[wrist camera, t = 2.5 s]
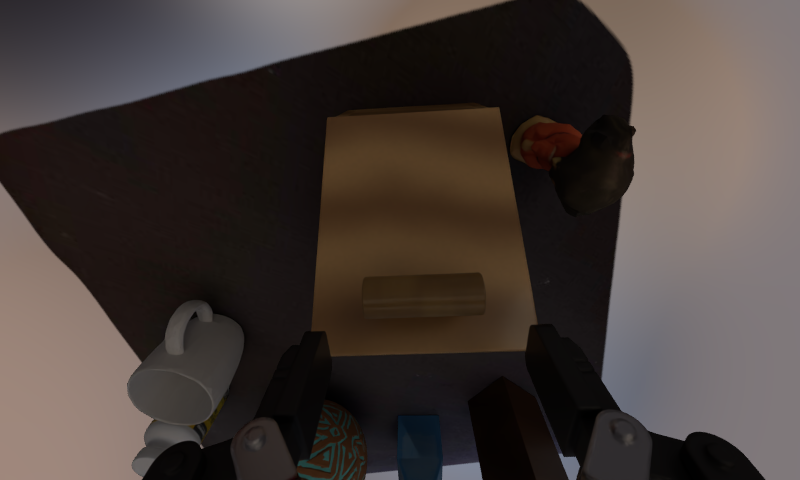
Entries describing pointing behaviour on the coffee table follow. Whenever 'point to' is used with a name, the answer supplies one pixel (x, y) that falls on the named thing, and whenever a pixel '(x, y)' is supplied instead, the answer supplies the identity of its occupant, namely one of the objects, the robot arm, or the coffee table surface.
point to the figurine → (579, 159)
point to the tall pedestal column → (513, 435)
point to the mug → (188, 367)
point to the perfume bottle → (419, 448)
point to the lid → (420, 237)
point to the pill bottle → (170, 438)
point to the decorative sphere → (336, 447)
